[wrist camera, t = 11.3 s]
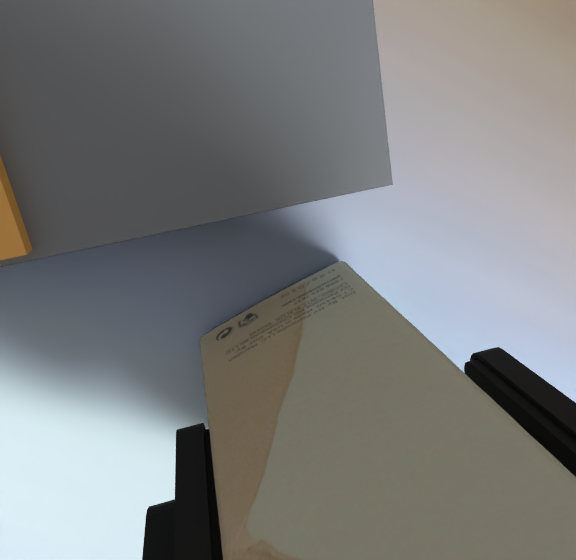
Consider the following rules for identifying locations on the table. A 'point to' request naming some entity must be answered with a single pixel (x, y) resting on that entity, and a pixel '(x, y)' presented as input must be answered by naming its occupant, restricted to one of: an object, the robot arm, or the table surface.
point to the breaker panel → (180, 115)
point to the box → (368, 440)
